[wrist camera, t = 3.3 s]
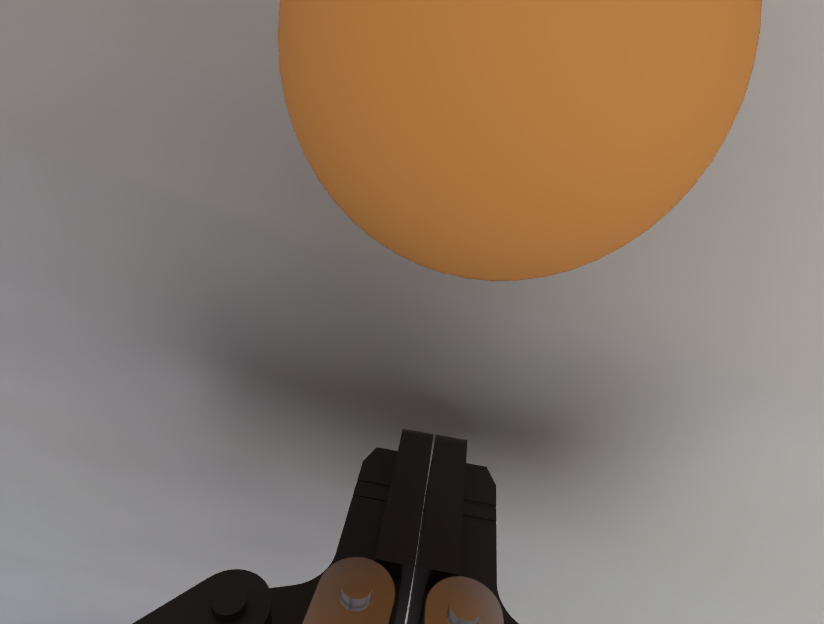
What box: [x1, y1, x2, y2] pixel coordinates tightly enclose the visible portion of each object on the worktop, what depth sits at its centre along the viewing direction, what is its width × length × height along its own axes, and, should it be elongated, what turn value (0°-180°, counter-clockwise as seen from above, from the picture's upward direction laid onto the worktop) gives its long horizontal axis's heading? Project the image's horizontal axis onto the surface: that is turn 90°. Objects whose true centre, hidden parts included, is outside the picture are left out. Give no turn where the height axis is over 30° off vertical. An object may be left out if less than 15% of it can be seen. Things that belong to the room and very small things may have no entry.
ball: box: [278, 0, 762, 281], centre depth 8 cm, size 6×6×6 cm
